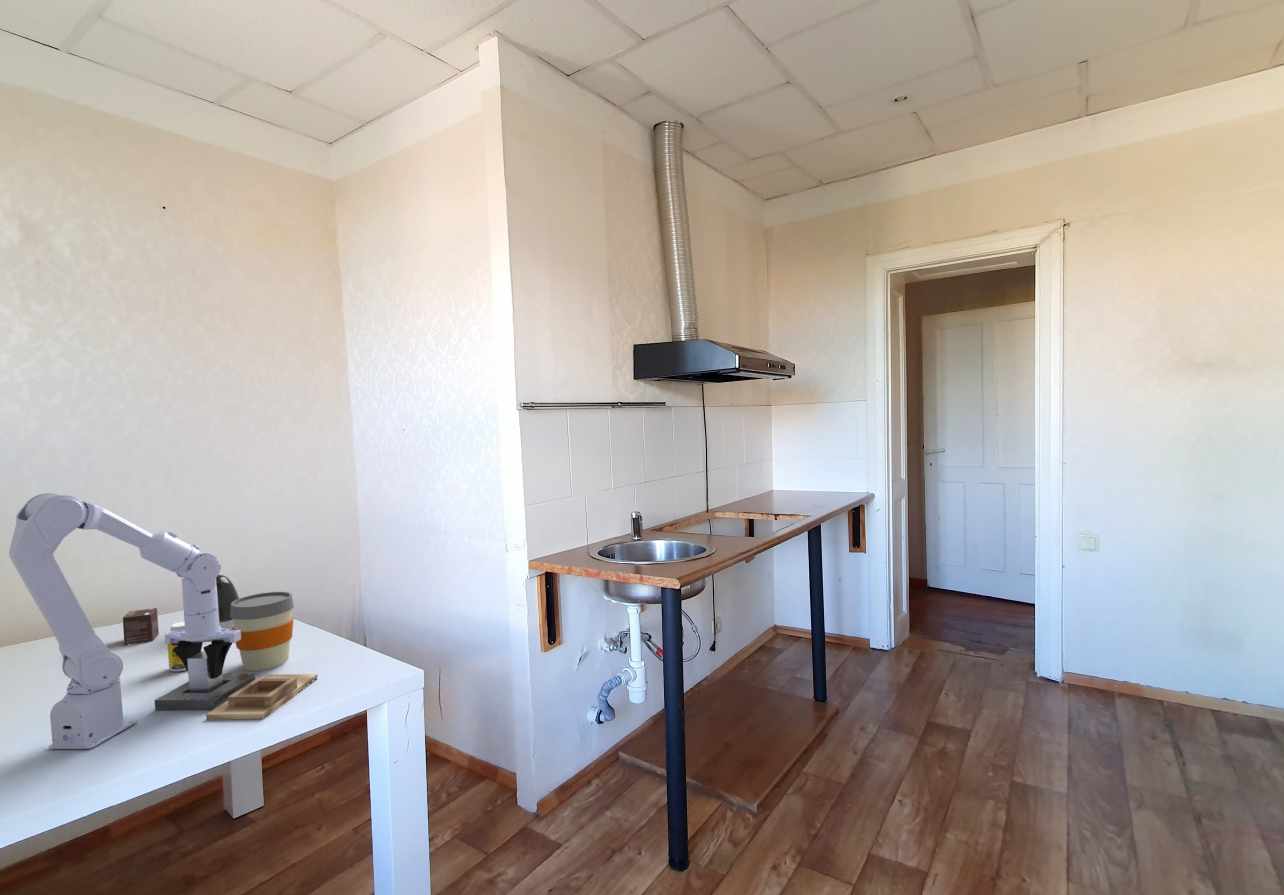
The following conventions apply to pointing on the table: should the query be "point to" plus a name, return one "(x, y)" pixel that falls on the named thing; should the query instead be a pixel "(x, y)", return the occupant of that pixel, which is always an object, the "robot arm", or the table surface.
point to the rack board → (261, 697)
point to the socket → (203, 695)
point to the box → (140, 626)
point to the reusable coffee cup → (263, 629)
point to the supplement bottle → (174, 660)
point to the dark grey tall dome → (225, 600)
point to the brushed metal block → (201, 675)
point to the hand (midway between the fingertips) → (205, 676)
